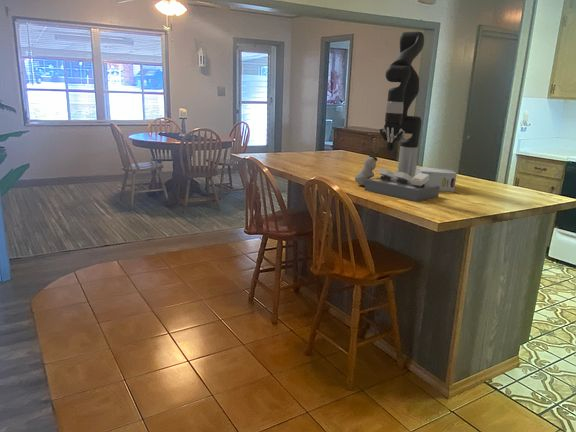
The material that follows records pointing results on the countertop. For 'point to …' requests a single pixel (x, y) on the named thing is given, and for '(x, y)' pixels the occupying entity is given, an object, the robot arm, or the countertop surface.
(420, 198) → the grey tray
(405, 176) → the switch
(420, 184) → the switch
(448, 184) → the supplement box
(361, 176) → the figurine
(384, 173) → the switch
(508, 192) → the countertop surface
